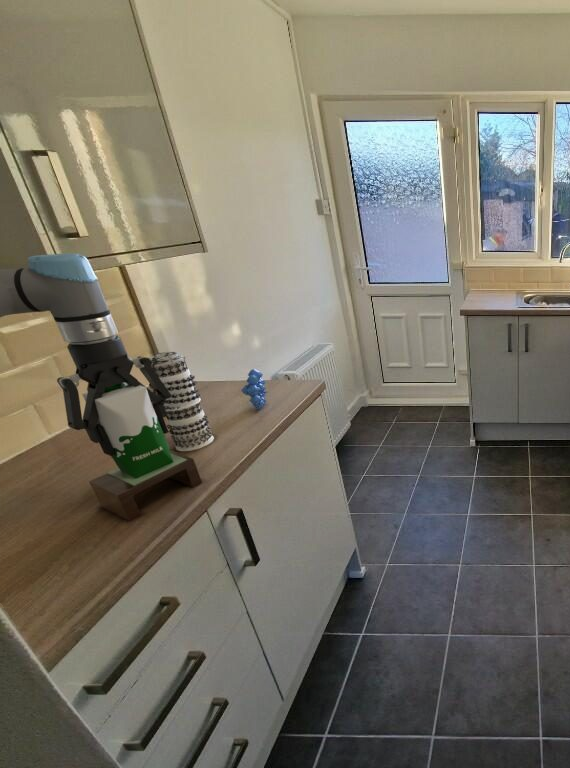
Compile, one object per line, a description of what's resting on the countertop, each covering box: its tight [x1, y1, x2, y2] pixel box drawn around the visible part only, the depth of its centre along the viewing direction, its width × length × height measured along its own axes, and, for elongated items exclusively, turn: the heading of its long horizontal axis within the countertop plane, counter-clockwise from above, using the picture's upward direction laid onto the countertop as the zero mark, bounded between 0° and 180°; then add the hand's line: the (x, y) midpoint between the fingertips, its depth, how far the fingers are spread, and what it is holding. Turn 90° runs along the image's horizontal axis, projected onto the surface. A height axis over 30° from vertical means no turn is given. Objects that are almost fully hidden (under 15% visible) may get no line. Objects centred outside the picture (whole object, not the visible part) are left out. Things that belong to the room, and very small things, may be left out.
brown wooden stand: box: [88, 449, 203, 522], centre depth 90 cm, size 11×14×7 cm
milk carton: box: [82, 383, 174, 479], centre depth 85 cm, size 9×9×20 cm
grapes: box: [241, 368, 268, 410], centre depth 129 cm, size 12×7×12 cm, turn 19°
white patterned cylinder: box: [148, 351, 215, 452], centre depth 106 cm, size 9×9×25 cm
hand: (137, 442), depth 87 cm, fingers closed on milk carton, 9 cm apart
